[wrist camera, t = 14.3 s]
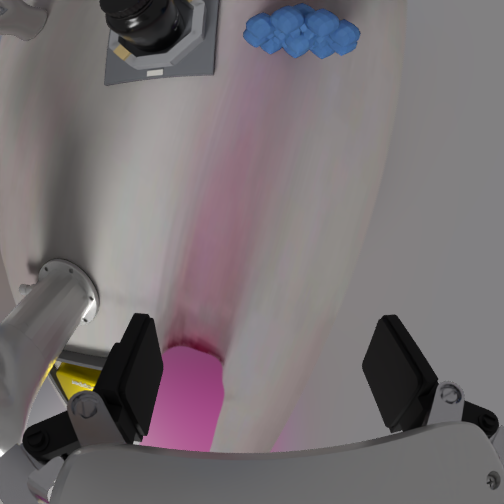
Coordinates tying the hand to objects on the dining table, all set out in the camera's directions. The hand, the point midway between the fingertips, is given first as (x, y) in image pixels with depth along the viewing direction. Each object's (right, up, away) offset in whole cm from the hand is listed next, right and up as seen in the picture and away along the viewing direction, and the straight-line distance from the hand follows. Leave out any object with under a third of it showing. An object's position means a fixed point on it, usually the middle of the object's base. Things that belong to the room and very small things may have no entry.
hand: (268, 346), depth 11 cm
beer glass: (-35, +39, +10) cm, 53 cm away
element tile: (-36, -26, +40) cm, 60 cm away
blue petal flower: (+4, +29, +16) cm, 33 cm away
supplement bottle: (-12, +31, +14) cm, 36 cm away
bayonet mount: (-12, +31, +14) cm, 36 cm away
